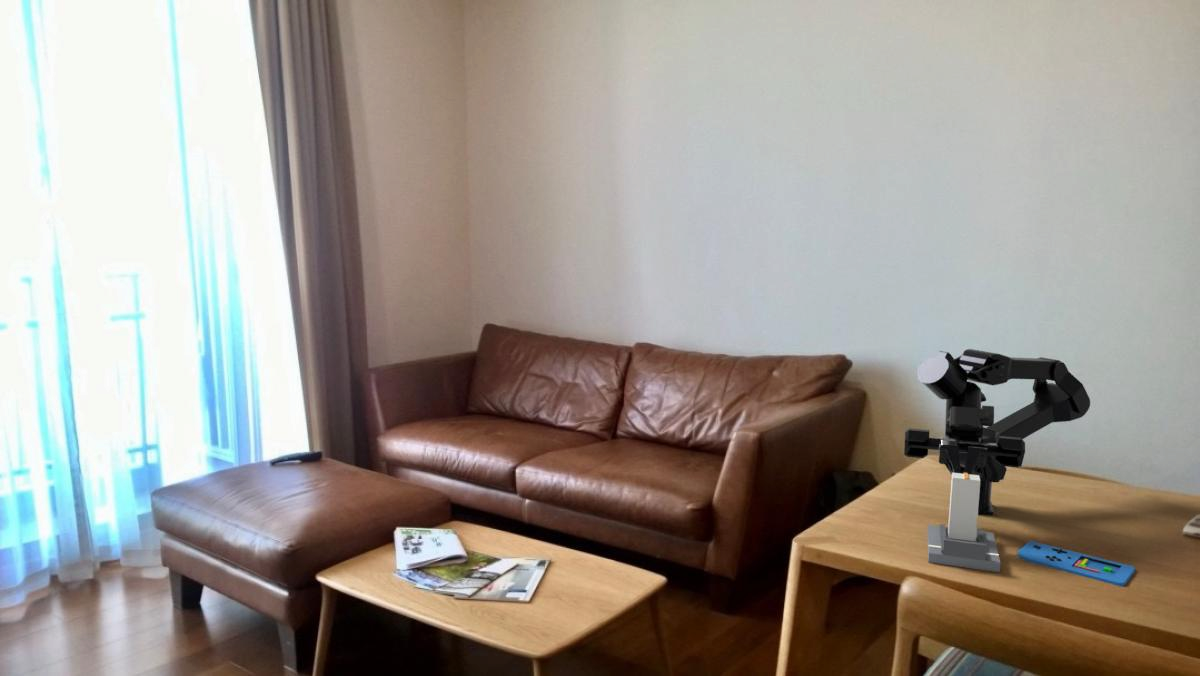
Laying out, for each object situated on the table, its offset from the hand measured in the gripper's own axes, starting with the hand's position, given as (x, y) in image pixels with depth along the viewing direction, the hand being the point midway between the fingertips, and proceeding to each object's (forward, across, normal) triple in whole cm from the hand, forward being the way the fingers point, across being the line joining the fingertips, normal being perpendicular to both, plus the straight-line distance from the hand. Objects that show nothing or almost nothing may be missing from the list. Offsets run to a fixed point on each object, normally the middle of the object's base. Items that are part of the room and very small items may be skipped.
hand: (961, 491), depth 138 cm
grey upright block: (+8, 0, 0) cm, 8 cm away
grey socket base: (+10, 0, 0) cm, 11 cm away
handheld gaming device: (+10, +16, +2) cm, 19 cm away
